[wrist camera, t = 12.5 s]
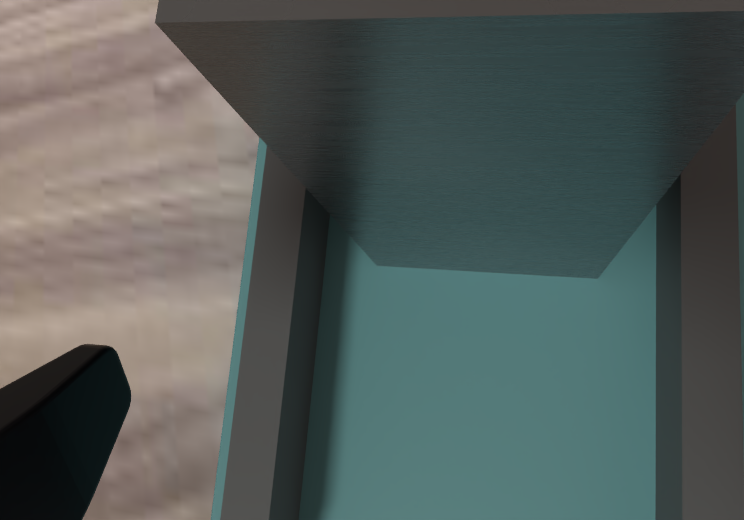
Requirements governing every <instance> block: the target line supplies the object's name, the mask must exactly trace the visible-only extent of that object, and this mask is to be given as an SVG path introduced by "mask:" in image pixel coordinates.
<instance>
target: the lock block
mask: <svg viewBox="0 0 744 520" xmlns="http://www.w3.org/2000/svg"><path fill="white" fill-rule="evenodd" d="M155 23H156V24H157V25H158V27H159V28H160V29H161V30H162V31H163V32H164V33H165V34H166V35H167V36H168V37H169V39H170V40H171V41H172V42H173V43H174V44H175V45H176V46H177V47H178V48H179V50H180V51H181V52H182V53H183V54H184V55H185V56H186V57H187V58H188V59H189V60H190V62H191V63H192V64H193V65H194V66H195V67H196V68H197V69H198V70H199V71H200V73H201V74H202V75H203V76H204V77H205V78H206V79H207V80H208V81H209V82H210V83H211V85H212V86H213V87H214V88H215V89H216V90H217V91H218V92H219V93H220V94H221V96H222V97H223V98H224V99H225V100H226V101H227V102H228V103H229V104H230V105H231V106H232V108H233V109H234V110H235V111H236V112H237V113H238V114H239V115H240V116H241V117H242V119H243V120H244V121H245V122H246V123H247V124H248V125H249V126H250V127H251V128H252V129H253V131H254V132H255V133H256V134H257V135H258V136H259V137H260V138H261V139H262V140H263V142H264V143H265V144H266V145H267V146H268V147H269V148H270V149H271V150H272V151H273V152H274V154H275V155H276V156H277V157H278V158H279V159H280V160H281V161H282V162H283V163H284V165H285V166H286V167H287V168H288V169H289V170H290V171H291V172H292V173H293V174H294V175H295V177H296V178H297V179H298V180H299V181H300V182H301V183H302V184H303V185H304V186H305V188H306V189H307V190H308V191H309V192H310V193H311V194H312V195H313V196H314V197H315V198H316V200H317V201H318V202H319V203H320V204H321V205H322V206H323V207H324V208H325V209H326V211H327V212H328V213H329V214H330V215H331V216H332V217H333V218H334V219H335V220H336V221H337V223H338V224H339V225H340V226H341V227H342V228H343V229H344V230H345V231H346V232H347V234H348V235H349V236H350V237H351V238H352V239H353V240H354V241H355V242H356V243H357V244H358V246H359V247H360V248H361V249H362V250H363V251H364V252H365V253H366V254H367V255H368V257H369V258H370V259H371V260H372V261H373V262H374V263H375V264H376V265H377V266H387V267H404V268H421V269H438V270H455V271H472V272H489V273H506V274H523V275H540V276H557V277H574V278H591V279H598V278H599V277H600V275H601V274H602V273H603V272H604V270H605V269H606V268H607V266H608V265H609V264H610V263H611V261H612V260H613V259H614V258H615V256H616V255H617V254H618V252H619V251H620V250H621V249H622V247H623V246H624V245H625V244H626V242H627V241H628V240H629V238H630V237H631V236H632V235H633V233H634V232H635V231H636V230H637V228H638V227H639V226H640V225H641V223H642V222H643V221H644V219H645V218H646V217H647V216H648V214H649V213H650V212H651V211H652V209H653V208H654V207H655V205H656V204H657V203H658V202H659V200H660V199H661V198H662V197H663V195H664V194H665V193H666V192H667V190H668V189H669V188H670V186H671V185H672V184H673V183H674V181H675V180H676V179H677V178H678V176H679V175H680V174H681V172H682V171H683V170H684V169H685V167H686V166H687V165H688V164H689V162H690V161H691V160H692V158H693V157H694V156H695V155H696V153H697V152H698V151H699V150H700V148H701V147H702V146H703V145H704V143H705V142H706V141H707V139H708V138H709V137H710V136H711V134H712V133H713V132H714V131H715V129H716V128H717V127H718V125H719V124H720V123H721V122H722V120H723V119H724V118H725V117H726V115H727V114H728V113H729V111H730V110H731V109H732V108H733V106H734V105H735V104H736V103H737V101H738V100H739V99H740V98H741V96H742V95H743V94H744V0H159V3H158V9H157V14H156V20H155Z"/></svg>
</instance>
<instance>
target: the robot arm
mask: <svg viewBox="0 0 744 520" xmlns="http://www.w3.org/2000/svg"><path fill="white" fill-rule="evenodd" d="M130 402H131V390H130V386H129V384H128V381H127V378H126V375H125V373H124V370H123V367H122V364H121V362H120V359H119V356H118V354H117V352H116V351H115V350H114V349H113V348H112V347H110V346H106V345H94V344H84V345H80V346H78V347H76V348H74V349H73V350H71V351H69V352H67V353H65V354H63V355H62V356H60V357H58V358H56V359H54V360H52V361H51V362H49V363H47V364H45V365H43V366H41V367H40V368H38V369H36V370H34V371H32V372H30V373H28V374H27V375H25V376H23V377H21V378H19V379H17V380H16V381H14V382H12V383H10V384H8V385H6V386H5V387H3V388H1V389H0V520H82V519H83V517H84V515H85V513H86V511H87V509H88V506H89V504H90V502H91V500H92V498H93V495H94V493H95V491H96V488H97V486H98V483H99V481H100V478H101V476H102V474H103V471H104V469H105V466H106V464H107V461H108V459H109V456H110V454H111V451H112V449H113V447H114V444H115V442H116V439H117V437H118V434H119V432H120V429H121V427H122V425H123V422H124V420H125V417H126V415H127V412H128V410H129V407H130Z"/></svg>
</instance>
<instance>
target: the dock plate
mask: <svg viewBox="0 0 744 520" xmlns="http://www.w3.org/2000/svg"><path fill="white" fill-rule="evenodd" d="M211 520H744V94H743V95H742V96H741V98H740V99H739V100H738V101H737V103H736V104H735V105H734V106H733V108H732V109H731V110H730V111H729V113H728V114H727V115H726V117H725V118H724V119H723V120H722V122H721V123H720V124H719V125H718V127H717V128H716V129H715V131H714V132H713V133H712V134H711V136H710V137H709V138H708V139H707V141H706V142H705V143H704V145H703V146H702V147H701V148H700V150H699V151H698V152H697V153H696V155H695V156H694V157H693V158H692V160H691V161H690V162H689V164H688V165H687V166H686V167H685V169H684V170H683V171H682V172H681V174H680V175H679V176H678V178H677V179H676V180H675V181H674V183H673V184H672V185H671V186H670V188H669V189H668V190H667V192H666V193H665V194H664V195H663V197H662V198H661V199H660V200H659V202H658V203H657V204H656V205H655V207H654V208H653V209H652V211H651V212H650V213H649V214H648V216H647V217H646V218H645V219H644V221H643V222H642V223H641V225H640V226H639V227H638V228H637V230H636V231H635V232H634V233H633V235H632V236H631V237H630V238H629V240H628V241H627V242H626V244H625V245H624V246H623V247H622V249H621V250H620V251H619V252H618V254H617V255H616V256H615V258H614V259H613V260H612V261H611V263H610V264H609V265H608V266H607V268H606V269H605V270H604V272H603V273H602V274H601V275H600V277H599V278H598V279H591V278H574V277H557V276H540V275H523V274H506V273H489V272H472V271H455V270H438V269H421V268H404V267H387V266H377V265H376V264H375V263H374V262H373V261H372V260H371V259H370V258H369V257H368V255H367V254H366V253H365V252H364V251H363V250H362V249H361V248H360V247H359V246H358V244H357V243H356V242H355V241H354V240H353V239H352V238H351V237H350V236H349V235H348V234H347V232H346V231H345V230H344V229H343V228H342V227H341V226H340V225H339V224H338V223H337V221H336V220H335V219H334V218H333V217H332V216H331V215H330V214H329V213H328V212H327V211H326V209H325V208H324V207H323V206H322V205H321V204H320V203H319V202H318V201H317V200H316V198H315V197H314V196H313V195H312V194H311V193H310V192H309V191H308V190H307V189H306V188H305V186H304V185H303V184H302V183H301V182H300V181H299V180H298V179H297V178H296V177H295V175H294V174H293V173H292V172H291V171H290V170H289V169H288V168H287V167H286V166H285V165H284V163H283V162H282V161H281V160H280V159H279V158H278V157H277V156H276V155H275V154H274V152H273V151H272V150H271V149H270V148H269V147H268V146H267V145H266V144H265V143H264V142H263V140H262V139H261V138H260V137H259V145H258V153H257V161H256V169H255V177H254V184H253V192H252V200H251V208H250V216H249V224H248V231H247V239H246V247H245V255H244V263H243V271H242V279H241V286H240V294H239V302H238V310H237V318H236V326H235V334H234V341H233V349H232V357H231V365H230V373H229V381H228V389H227V396H226V404H225V412H224V420H223V428H222V436H221V443H220V451H219V459H218V467H217V475H216V483H215V491H214V498H213V506H212V514H211Z"/></svg>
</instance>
